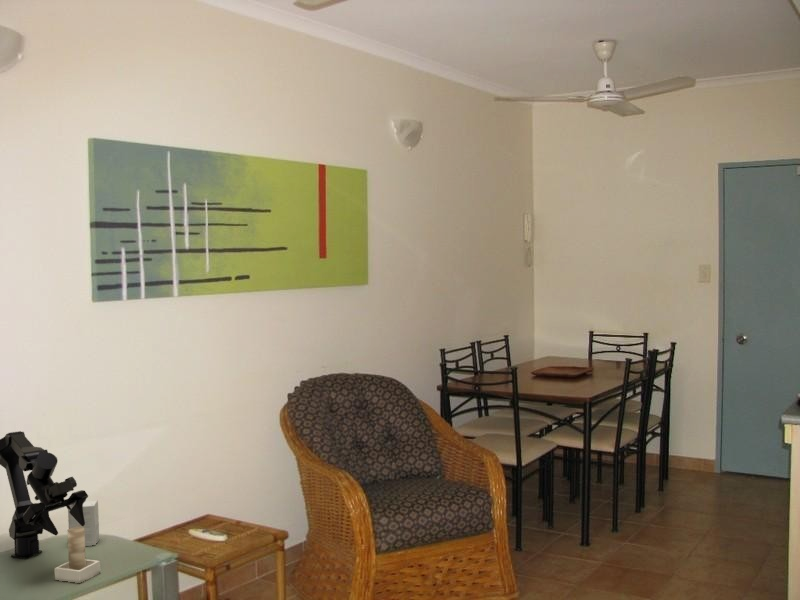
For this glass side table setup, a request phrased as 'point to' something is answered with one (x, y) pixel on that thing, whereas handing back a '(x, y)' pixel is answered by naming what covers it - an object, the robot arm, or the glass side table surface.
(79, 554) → the tan rounded rod
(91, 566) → the white square tray
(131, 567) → the glass side table surface
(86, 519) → the small box
